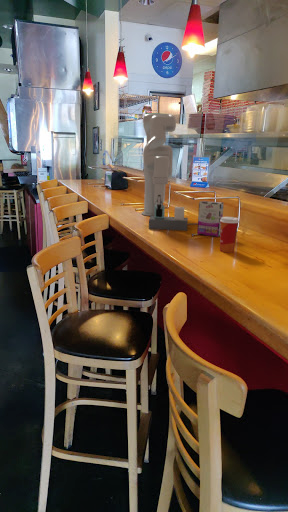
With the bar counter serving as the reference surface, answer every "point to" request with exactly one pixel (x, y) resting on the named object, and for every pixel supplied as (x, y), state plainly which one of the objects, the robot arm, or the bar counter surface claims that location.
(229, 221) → the paper cup
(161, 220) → the block
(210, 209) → the candy bar box
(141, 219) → the bar counter surface
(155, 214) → the teal plug
